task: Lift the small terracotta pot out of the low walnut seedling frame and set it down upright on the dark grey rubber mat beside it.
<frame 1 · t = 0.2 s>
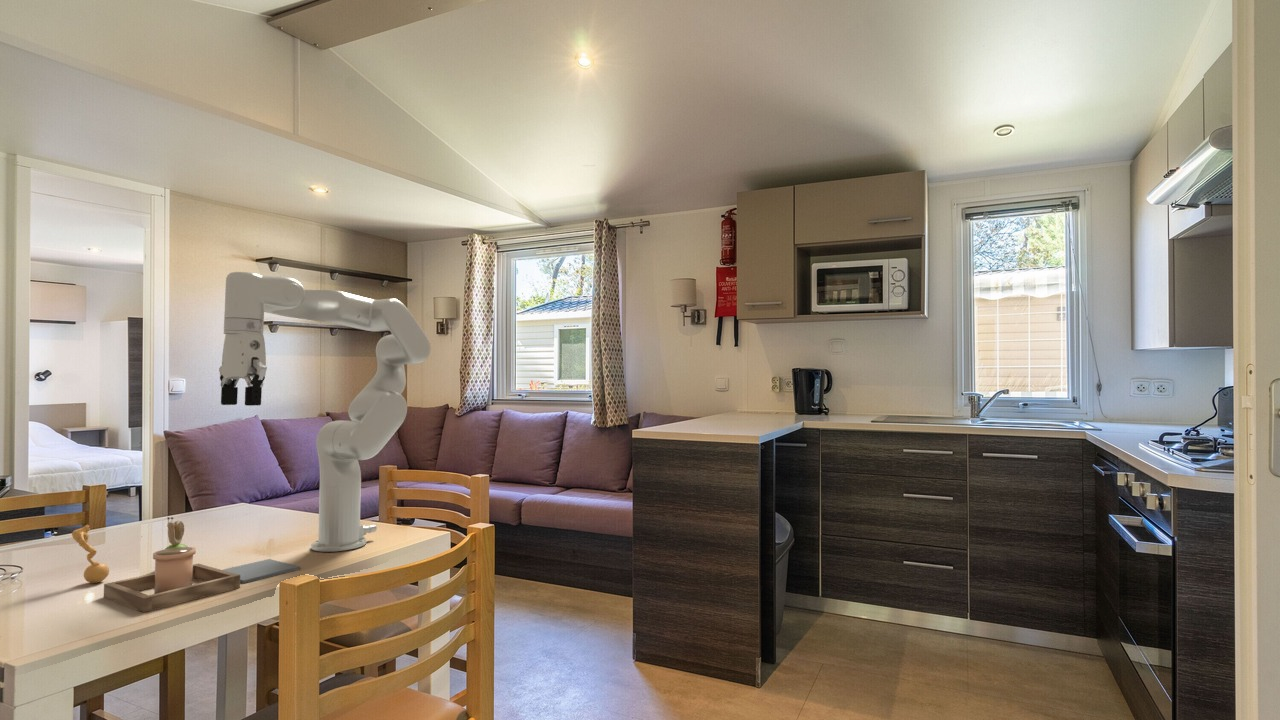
hand: (240, 405, 141), 36 cm above the table, tool pointing down, fingers open, 9 cm apart
seedling frame: (173, 592, 125), on the table
grey mat: (257, 571, 139), on the table
terracotta pot: (174, 571, 125), in the seedling frame
figurine: (89, 584, 130), on the table
snail figurine: (174, 570, 141), on the table
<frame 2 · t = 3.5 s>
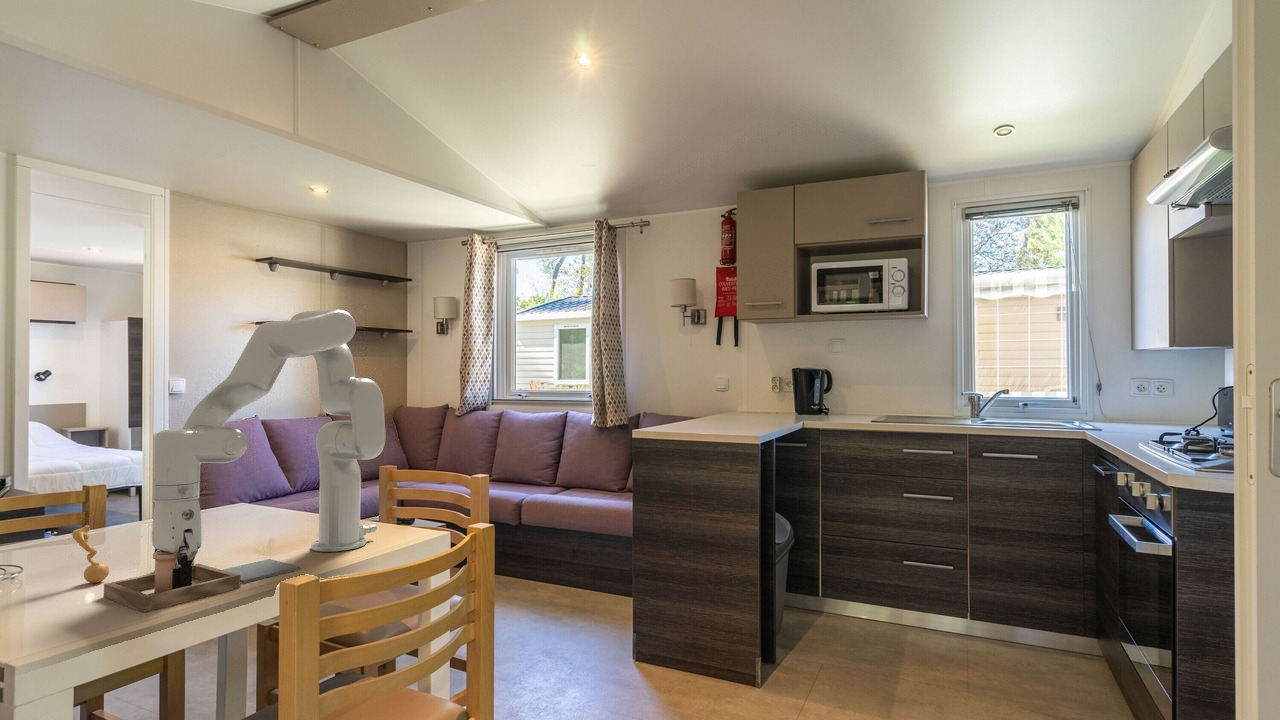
hand: (173, 584, 125), 2 cm above the table, tool pointing down, fingers closed on terracotta pot, 6 cm apart
terracotta pot: (173, 571, 125), in the seedling frame, touching gripper
everything else where it was.
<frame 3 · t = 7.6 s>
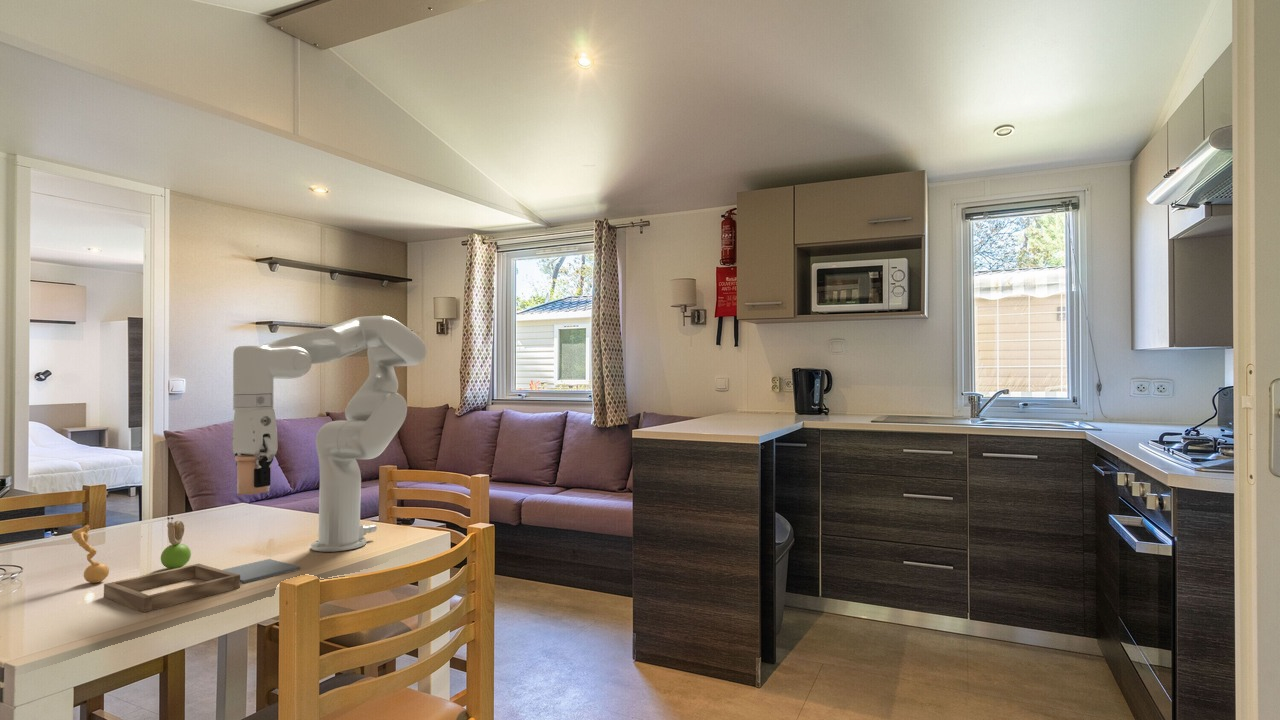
hand: (253, 484, 138), 19 cm above the table, tool pointing down, fingers closed on terracotta pot, 6 cm apart
terracotta pot: (253, 473, 138), point 22 cm above the table, touching gripper
everything else where it was.
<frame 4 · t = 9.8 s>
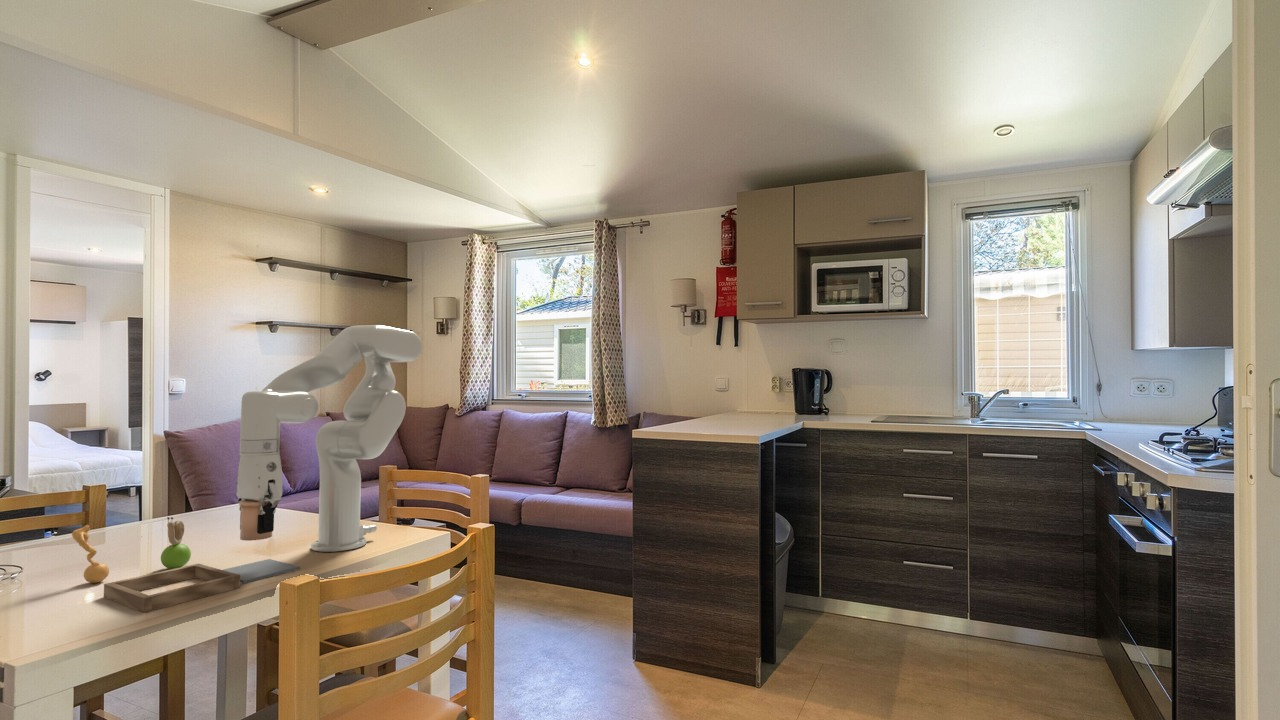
hand: (256, 530, 139), 9 cm above the table, tool pointing down, fingers closed on terracotta pot, 6 cm apart
terracotta pot: (256, 518, 139), point 12 cm above the table, touching gripper
everything else where it was.
when the fingers open (4 cm above the table, at t = 11.7 s): terracotta pot drops 2 cm, resting on grey mat.
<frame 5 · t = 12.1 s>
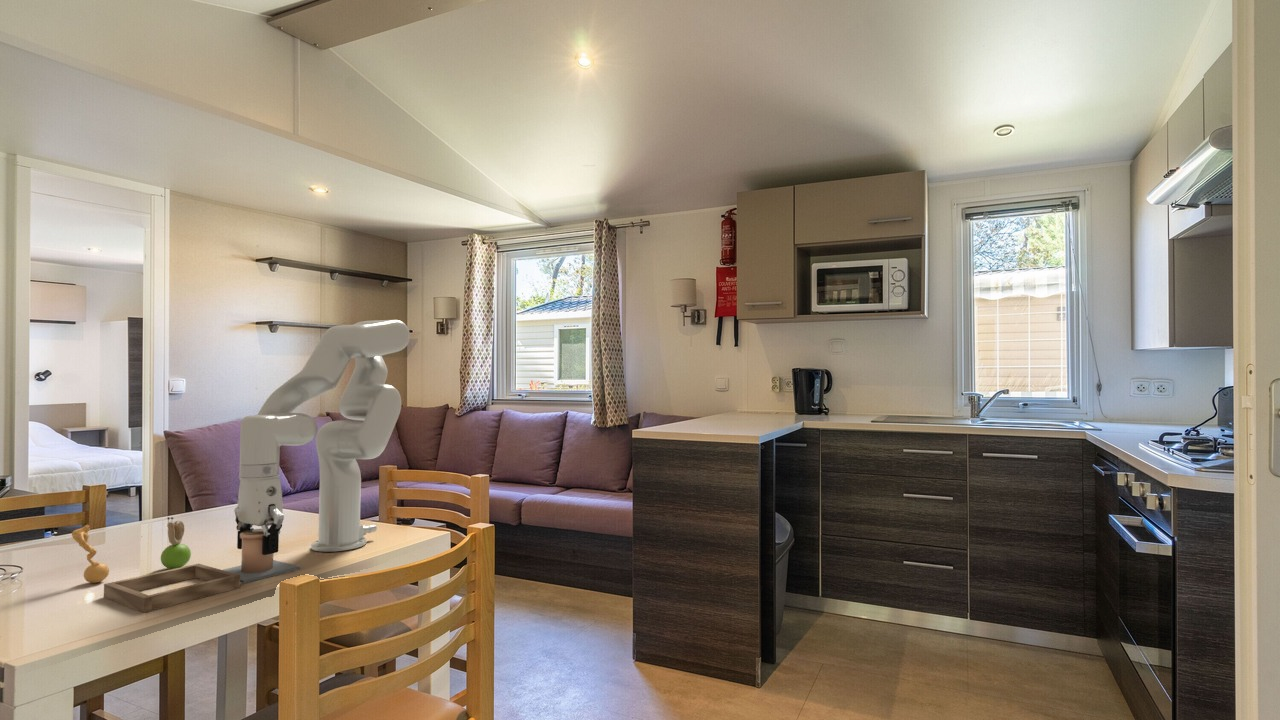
hand: (257, 550, 139), 5 cm above the table, tool pointing down, fingers open, 9 cm apart
terracotta pot: (257, 550, 139), on the grey mat, point 5 cm above the table
everything else where it was.
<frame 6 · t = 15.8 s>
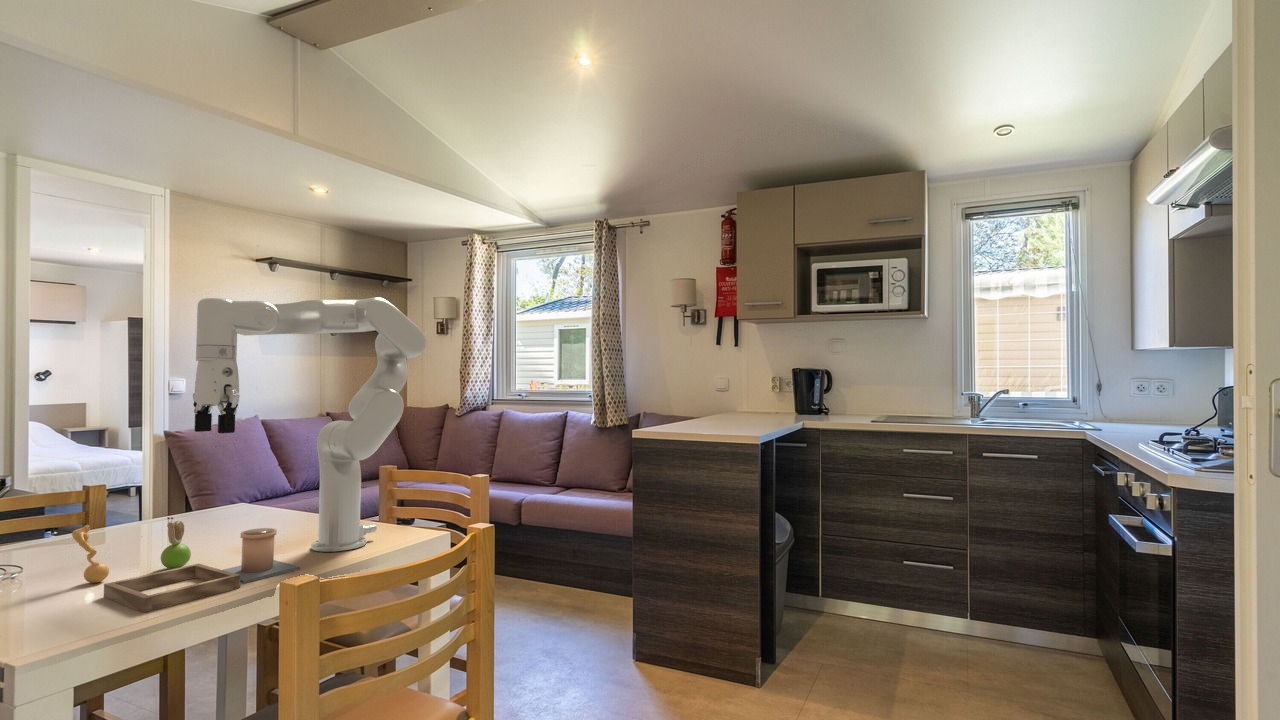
hand: (214, 432, 140), 30 cm above the table, tool pointing down, fingers open, 9 cm apart
nothing on the table moved.
at the end: terracotta pot inside the target area (0.1 cm from its centre), point 4.7 cm above the table; terracotta pot tilted 1°; the gripper is holding nothing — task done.
